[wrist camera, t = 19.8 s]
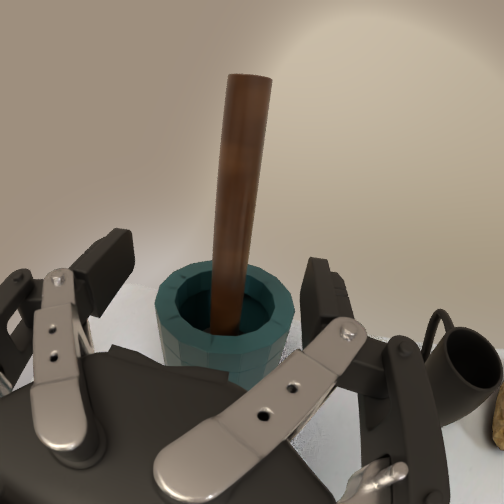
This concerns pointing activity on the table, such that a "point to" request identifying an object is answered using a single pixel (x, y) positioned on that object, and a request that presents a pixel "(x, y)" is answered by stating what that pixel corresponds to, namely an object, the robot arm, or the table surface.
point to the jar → (215, 346)
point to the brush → (236, 196)
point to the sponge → (499, 419)
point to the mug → (459, 368)
